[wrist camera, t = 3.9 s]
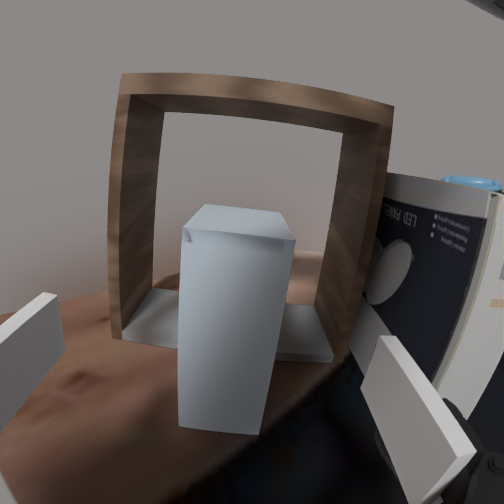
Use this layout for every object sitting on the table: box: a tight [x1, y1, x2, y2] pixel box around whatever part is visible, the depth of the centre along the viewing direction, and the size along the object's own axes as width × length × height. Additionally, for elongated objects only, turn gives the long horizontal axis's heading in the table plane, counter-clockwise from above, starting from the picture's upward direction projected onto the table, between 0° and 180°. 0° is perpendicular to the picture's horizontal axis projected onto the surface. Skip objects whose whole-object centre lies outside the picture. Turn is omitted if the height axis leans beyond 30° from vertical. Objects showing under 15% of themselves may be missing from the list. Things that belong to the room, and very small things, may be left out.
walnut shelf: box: [107, 73, 394, 363], centre depth 33 cm, size 24×12×26 cm, turn 90°
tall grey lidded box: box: [178, 204, 296, 435], centre depth 23 cm, size 6×9×15 cm, turn 0°
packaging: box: [348, 172, 504, 420], centre depth 31 cm, size 30×6×20 cm, turn 2°
